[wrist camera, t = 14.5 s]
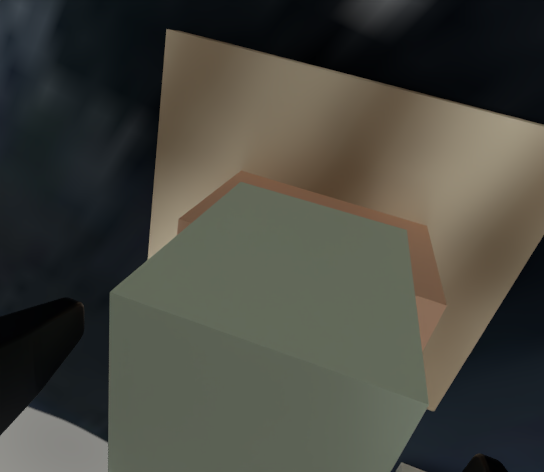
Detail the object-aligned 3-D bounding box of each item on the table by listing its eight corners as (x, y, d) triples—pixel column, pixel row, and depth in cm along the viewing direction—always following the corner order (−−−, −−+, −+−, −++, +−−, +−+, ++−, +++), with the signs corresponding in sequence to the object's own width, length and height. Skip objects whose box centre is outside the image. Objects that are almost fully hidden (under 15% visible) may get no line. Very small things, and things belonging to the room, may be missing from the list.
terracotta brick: (426, 225, 14) (446, 305, 9) (387, 313, 15) (388, 416, 11) (241, 170, 15) (178, 218, 10) (224, 259, 16) (166, 333, 12)
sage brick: (240, 181, 9) (109, 292, 5) (406, 230, 9) (429, 404, 4) (205, 384, 12) (106, 561, 8) (325, 429, 12) (290, 647, 7)
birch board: (586, 135, 12) (601, 141, 11) (431, 393, 18) (433, 411, 17) (180, 30, 14) (166, 28, 13) (154, 293, 20) (143, 304, 19)
